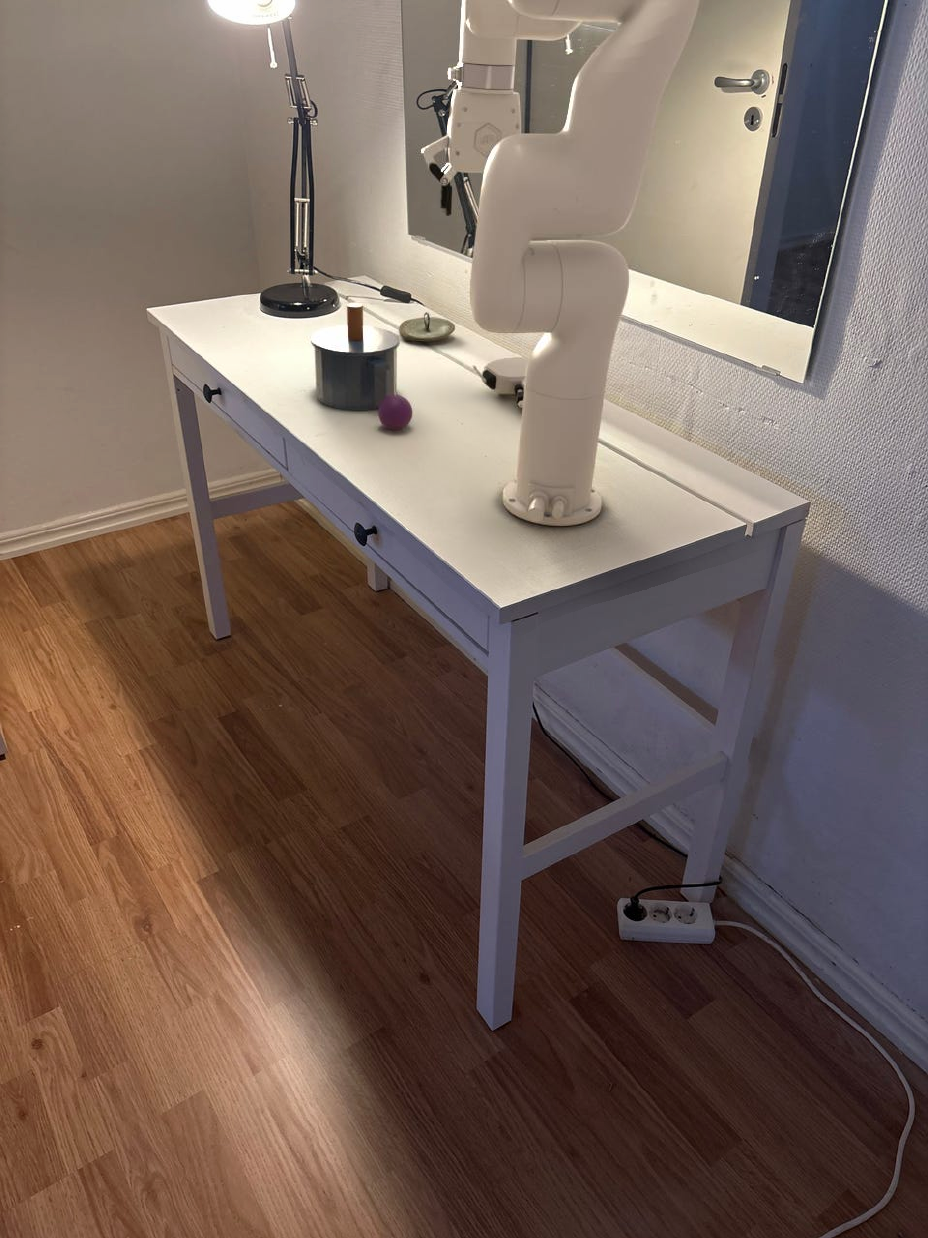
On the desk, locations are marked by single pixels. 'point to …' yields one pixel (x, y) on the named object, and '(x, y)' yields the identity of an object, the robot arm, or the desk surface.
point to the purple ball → (395, 412)
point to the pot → (355, 379)
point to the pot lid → (355, 337)
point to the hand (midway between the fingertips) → (479, 214)
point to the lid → (426, 328)
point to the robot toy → (506, 376)
